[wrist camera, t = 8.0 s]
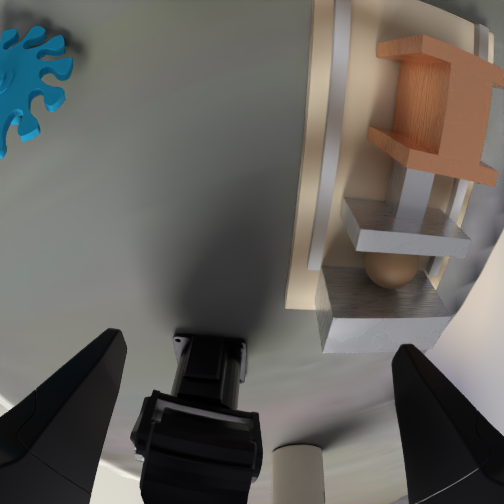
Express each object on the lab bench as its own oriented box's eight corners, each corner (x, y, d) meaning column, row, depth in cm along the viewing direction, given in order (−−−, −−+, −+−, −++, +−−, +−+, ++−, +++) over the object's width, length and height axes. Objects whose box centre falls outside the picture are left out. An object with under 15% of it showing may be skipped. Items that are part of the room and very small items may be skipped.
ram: (435, 225, 18) (475, 272, 13) (339, 215, 18) (362, 267, 13) (466, 72, 12) (525, 82, 8) (361, 40, 12) (402, 27, 8)
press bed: (421, 301, 23) (428, 315, 22) (284, 298, 23) (285, 314, 22) (483, 34, 11) (499, 34, 10) (312, -19, 12) (317, -28, 10)
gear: (102, 76, 14) (-37, 192, 10) (99, 121, 19) (-4, 212, 15) (32, -4, 11) (-81, 81, 7) (37, 42, 16) (-55, 116, 12)
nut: (398, 260, 20) (412, 300, 18) (352, 257, 20) (362, 300, 18) (416, 220, 18) (436, 261, 15) (366, 215, 18) (381, 257, 15)
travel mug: (265, 456, 43) (261, 552, 27) (282, 441, 38) (281, 552, 23) (308, 459, 43) (311, 550, 28) (330, 444, 39) (337, 547, 24)
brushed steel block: (410, 301, 22) (432, 348, 17) (314, 299, 22) (322, 353, 18) (423, 270, 20) (450, 316, 16) (321, 265, 20) (333, 318, 16)
